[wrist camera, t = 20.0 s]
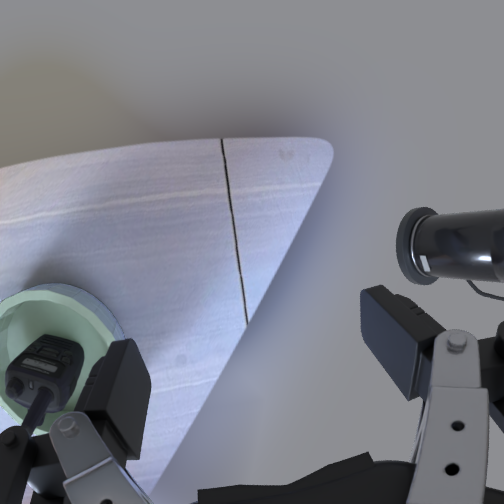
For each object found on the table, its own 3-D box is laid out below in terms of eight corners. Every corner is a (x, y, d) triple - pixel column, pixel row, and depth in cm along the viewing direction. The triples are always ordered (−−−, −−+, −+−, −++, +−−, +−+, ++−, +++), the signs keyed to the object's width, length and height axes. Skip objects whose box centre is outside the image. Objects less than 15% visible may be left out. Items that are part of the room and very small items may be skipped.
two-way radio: (89, 341, 26) (52, 420, 12) (85, 383, 26) (56, 480, 12) (36, 327, 24) (-35, 389, 10) (34, 370, 24) (-25, 451, 10)
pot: (141, 305, 28) (141, 317, 23) (118, 427, 27) (117, 457, 22) (12, 265, 24) (-12, 269, 19) (1, 391, 23) (-18, 413, 18)
